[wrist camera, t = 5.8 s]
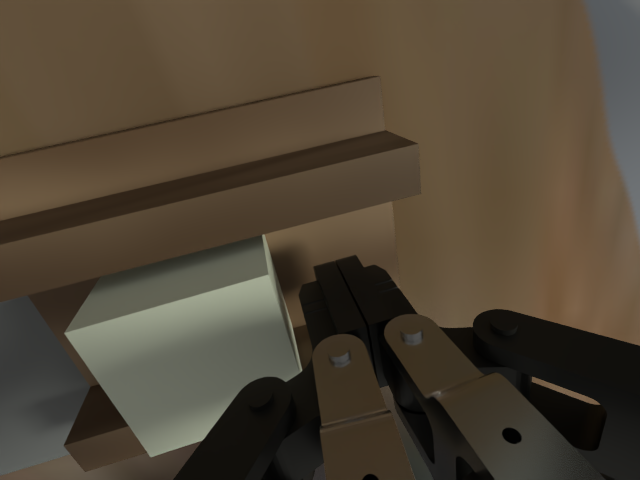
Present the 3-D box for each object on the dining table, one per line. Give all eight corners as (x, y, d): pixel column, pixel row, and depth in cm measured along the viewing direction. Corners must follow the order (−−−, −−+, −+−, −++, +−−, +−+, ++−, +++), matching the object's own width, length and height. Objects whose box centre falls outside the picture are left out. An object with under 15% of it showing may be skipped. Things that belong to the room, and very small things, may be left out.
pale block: (113, 255, 12) (64, 333, 9) (259, 217, 13) (268, 274, 9) (171, 361, 14) (150, 457, 11) (291, 325, 15) (310, 404, 11)
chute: (-43, 166, 11) (-140, 200, 8) (373, 75, 12) (414, 78, 9) (128, 425, 16) (107, 498, 13) (401, 342, 17) (432, 393, 15)
